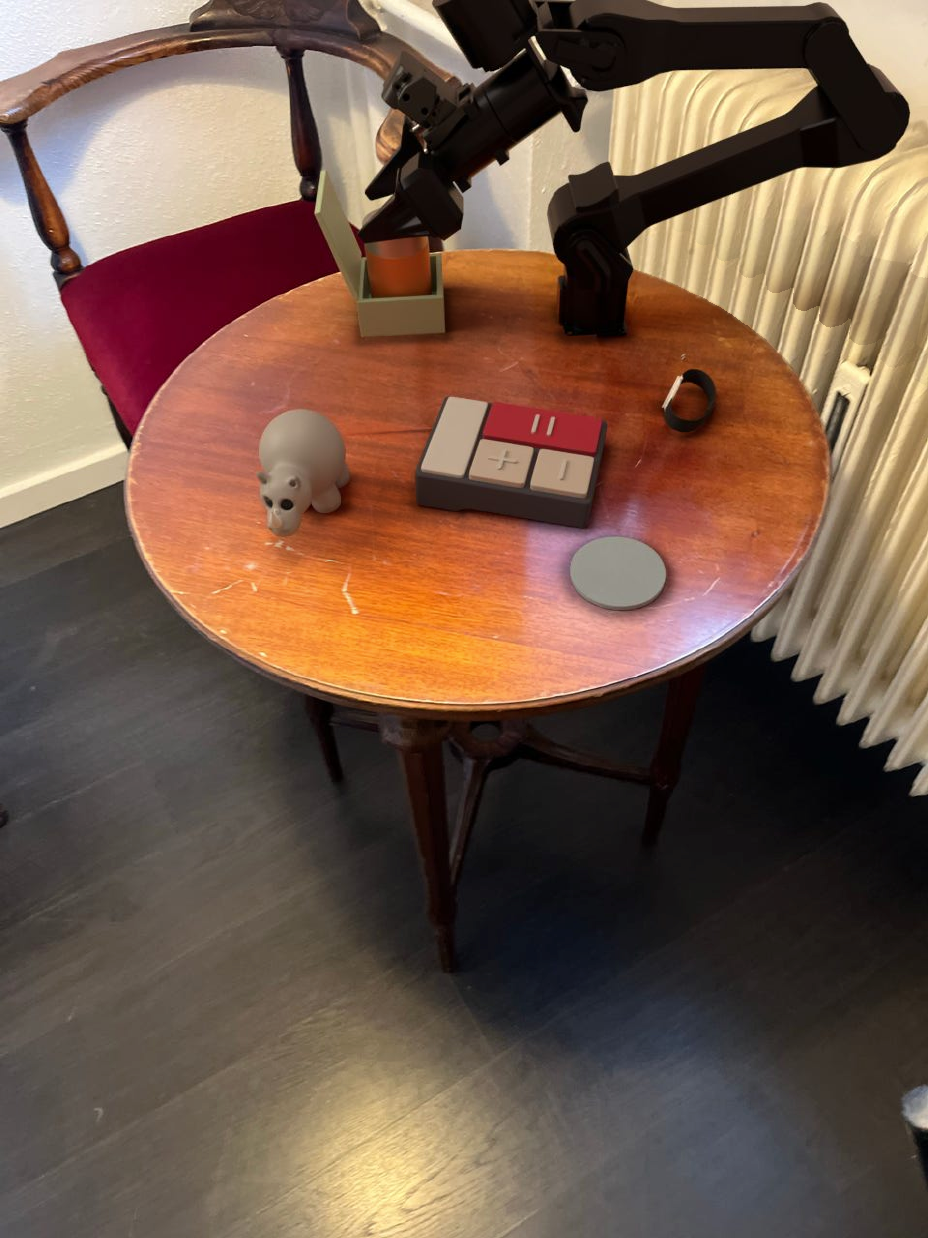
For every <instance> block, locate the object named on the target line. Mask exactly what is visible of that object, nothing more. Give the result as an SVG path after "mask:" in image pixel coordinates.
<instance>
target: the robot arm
mask: <svg viewBox="0 0 928 1238" xmlns="http://www.w3.org/2000/svg"><path fill="white" fill-rule="evenodd" d="M431 6H432V7H433V8H434V10H435V13H437V15H438V16H439V18H440V20H441V21H442V23H443V25H444V26H445V28H446V29H447V31H448V33H449V34H450V36H451V38H452V39H453V40H454V42H455V44H456V45H457V47H458V49H459V50H460V52H461V53H462V55H463V56H464V58H465V59H466V61H467V63H468V65H469V66H470V67H471V68H472V69H473V70H478V69H482V70H483V72H484V73H485V74H486V73H488V72H489V73H493V72H494V73H493V74H492V75H490V76H489V77H488V78H487V79H485V80H484V81H482V82H481V83H480V84H479V85H477V86H476V85H475V84H474V82H471V83H470V84H469V82H466V83H463V84H462V85H461V86H460V87H458V88H457V89H454V88H453V87H452V86H451V85H449V83H447V82H446V81H445V80H444V78H442V77H441V76H440V75H438V74H437V73H436V72H435V71H434V70H432V69H431V68H429V67H428V66H427V65H426V64H424V63H423V62H422V61H420V60H419V59H418V58H416V57H415V56H414V55H413V54H411V53H410V52H408V51H406V50H401V51H400V53H399V54H398V57H397V58H396V60H395V62H394V64H393V65H392V67H391V69H390V71H389V73H388V74H387V76H386V78H385V80H384V81H383V83H382V88H383V89H382V91H381V94H380V95H381V96H380V97H381V100H382V101H383V102H384V103H385V104H386V105H387V106H388V107H390V108H391V109H392V110H394V111H396V110H398V111H399V112H400V113H402V114H403V115H404V116H403V121H402V130H401V140H400V143H399V145H398V146H397V147H396V149H395V150H394V151H393V153H392V154H391V156H390V157H389V158H388V160H387V161H386V162H385V163H384V165H383V166H382V167H381V169H380V170H379V171H378V173H376V174H375V176H374V177H373V179H372V180H371V181H370V183H369V184H368V185H367V186H366V188H365V189H364V195H365V196H366V198H367V199H368V200H369V201H371V202H373V201H376V200H380V199H383V198H386V197H389V198H388V199H387V200H386V201H385V202H384V203H383V204H382V205H381V207H379V208H380V209H379V208H378V209H379V210H378V211H377V212H376V213H375V214H374V215H373V216H372V217H371V218H370V219H369V220H368V221H367V222H366V223H365V225H364V226H362V227H361V228H360V229H359V230H358V231H357V234H356V235H357V238H358V239H359V241H361V242H362V244H367V243H374V242H381V241H388V240H395V239H403V238H413V237H426V236H428V237H431V238H432V239H434V240H435V239H438V238H439V239H440V240H441V241H443V242H445V241H446V240H448V239H449V238H451V237H452V236H453V235H455V234H456V233H458V232H459V231H461V230H462V225H463V220H464V215H465V213H464V211H465V209H464V205H465V204H464V203H465V200H464V196H463V195H462V194H464V193H466V192H467V191H468V190H470V189H471V188H473V187H472V186H473V185H472V181H473V180H472V178H474V177H475V176H476V175H478V174H479V173H481V172H482V171H484V170H485V169H486V168H488V167H489V166H490V165H492V164H493V163H495V162H497V164H498V165H499V167H502V166H503V165H504V164H506V163H507V162H508V161H510V159H511V158H510V151H511V150H512V149H514V148H515V147H517V146H518V145H519V144H520V143H522V142H524V141H525V140H526V139H528V138H529V137H531V136H532V135H533V134H534V133H536V132H537V131H538V130H540V129H541V128H543V127H544V126H546V125H547V124H548V123H549V122H551V121H553V120H554V119H555V118H556V117H558V116H559V115H560V114H562V115H563V118H564V119H565V120H566V122H567V124H568V126H569V128H570V130H571V131H572V132H573V133H575V134H576V133H579V132H580V131H581V128H582V121H583V115H584V111H585V109H586V106H587V105H588V103H589V98H588V94H587V91H591V92H597V93H601V92H606V91H607V92H608V91H612V90H616V89H621V88H627V87H631V86H635V85H640V84H641V83H642V84H643V83H644V82H646V81H648V80H651V79H652V78H654V77H656V76H659V75H663V74H666V73H671V72H675V71H677V72H679V71H683V72H684V71H728V70H729V71H730V70H731V71H733V70H735V71H736V70H783V69H785V70H786V69H787V70H788V69H789V70H790V69H805V70H807V71H808V72H809V74H810V76H811V77H812V80H813V81H814V82H815V84H816V86H814V87H812V89H810V91H808V92H807V93H806V94H805V96H803V98H801V99H800V100H799V101H798V102H797V103H796V104H795V105H794V106H793V107H792V108H791V109H790V110H789V111H787V112H786V113H784V114H782V115H780V116H778V117H775V118H773V119H770V120H768V121H765V122H763V123H760V124H758V125H755V126H753V127H750V128H748V129H746V130H743V131H740V132H737V133H735V134H733V135H731V136H728V137H726V138H723V139H721V140H719V141H716V142H713V143H711V144H709V145H706V146H704V147H701V148H699V149H696V150H694V151H692V152H689V153H686V154H683V155H681V156H679V157H677V158H674V159H672V160H669V161H667V162H664V163H661V164H659V165H657V166H655V167H652V168H650V169H647V170H645V171H641V172H639V173H637V174H633V175H632V174H631V175H623V174H621V175H620V174H614V171H613V168H612V166H611V162H610V161H605V162H601V163H599V164H598V165H596V166H594V167H592V168H591V169H589V170H587V171H585V172H582V173H579V174H578V173H577V174H568V175H567V180H568V182H566V183H565V184H563V185H562V186H560V187H557V189H556V190H555V191H554V192H553V195H552V197H551V199H550V201H549V203H548V205H547V211H546V216H547V223H548V227H549V233H550V237H551V242H552V243H551V244H552V248H553V253H554V255H555V257H556V258H557V260H558V261H559V262H560V263H561V264H563V271H562V275H558V276H557V280H556V281H557V283H556V287H557V288H556V304H555V305H556V306H555V313H556V318H557V323H558V324H559V325H560V326H562V328H563V333H564V335H565V336H566V337H578V336H596V338H598V339H599V338H615V337H626V336H627V334H628V328H627V324H626V321H625V317H626V308H627V298H628V291H629V290H628V289H629V283H630V282H629V281H630V279H631V276H632V274H633V273H634V270H635V269H634V266H633V262H632V259H631V256H630V252H629V249H628V247H629V246H630V245H631V244H632V243H633V242H635V241H636V240H637V238H639V236H641V235H642V233H643V232H644V231H646V230H647V229H648V228H650V227H652V226H654V225H657V224H660V223H662V222H665V221H667V220H669V219H672V218H674V217H677V216H680V215H682V214H685V213H687V212H690V211H693V210H695V209H698V208H701V207H703V206H706V205H708V204H710V203H713V202H716V201H719V200H721V199H724V198H727V197H729V196H731V195H734V194H737V193H740V192H742V191H744V190H747V189H749V188H752V187H754V186H757V185H760V184H763V183H765V182H768V181H771V180H773V179H776V178H778V177H780V176H783V175H785V174H788V173H791V172H793V171H797V170H799V169H805V168H807V169H809V168H810V169H842V168H847V167H851V166H856V165H861V164H866V163H870V162H873V161H877V160H879V159H881V158H883V157H885V156H887V155H889V154H890V153H891V152H892V151H894V150H895V149H896V147H897V145H898V143H899V142H900V140H901V139H902V138H903V136H904V135H905V133H906V131H907V128H908V126H909V124H910V117H911V110H910V104H909V101H907V100H906V98H905V96H904V94H902V93H901V92H900V91H899V89H898V88H897V87H896V86H895V85H894V83H893V82H892V81H891V80H890V79H889V78H888V77H887V75H886V74H885V73H884V72H883V71H882V70H881V69H880V68H878V67H876V66H875V65H872V64H870V63H868V62H867V61H866V59H865V58H864V56H863V55H862V53H861V51H860V50H859V48H858V47H857V45H856V44H855V42H854V40H853V38H852V36H851V35H850V29H849V27H848V24H847V22H846V21H845V20H844V19H843V18H842V17H841V16H840V14H839V13H838V12H837V11H836V10H835V9H834V8H833V7H832V6H831V5H830V4H828V3H826V2H821V1H816V2H812V3H809V4H806V5H772V6H771V5H770V6H767V5H766V6H764V5H762V6H761V5H760V6H709V7H706V6H705V7H701V6H700V7H672V6H667V5H662V4H659V3H657V2H654V1H652V0H651V1H650V0H432V1H431ZM532 37H534V38H535V41H536V43H537V45H538V46H539V48H540V50H541V51H542V54H543V55H544V57H545V59H544V57H543V56H542V54H541V52H540V51H539V50H538V48H537V46H536V44H535V43H534V41H533V39H532ZM563 68H565V69H567V70H569V72H570V74H571V77H572V78H573V80H574V81H576V82H577V84H578V85H580V88H579V87H576V86H573V85H572V84H571V82H570V80H569V78H568V76H567V74H566V73H565V71H564V69H563ZM586 90H587V91H586ZM569 333H570V334H569Z"/></svg>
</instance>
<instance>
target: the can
mask: <svg viewBox="0 0 928 1238" xmlns="http://www.w3.org/2000/svg"><path fill="white" fill-rule="evenodd" d="M380 208H381V207H378V208H376V209H374V210H372V211H370V212H369V213H367V214H366V215H364V217H363V219H362V222H361V226H362V227H363V226H364V225H365V223H366V222H367V221H368V220H369V219H370V218H371V217H372V216H373V215H374V214H375V213H376V212H377V211H378V210H379V209H380ZM363 244H364V243H363ZM364 253H365V257H366V261H367V269H368V276H369V284H370V292H371V297H372V298H388V297H406V296H425V295H432V281H431V267H430V254H431V253H430V241H429V236H426V237H413V238H403V239H395V240H388V241H381V242H374V243H367V244H364Z"/></svg>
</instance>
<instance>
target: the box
mask: <svg viewBox="0 0 928 1238" xmlns="http://www.w3.org/2000/svg"><path fill="white" fill-rule="evenodd" d="M442 259H443V258H442V253H441V252H440V253H439V252H438V253H437V252H436V253H430V267H431V281H432V295H425V296H406V297H388V298H372V297H371V292H370V284H369V276H368V269H367V261H366V256H365V257H361V267H360V281H359V294H358V298H356V299H355V300H356V308H357V309H356V311H357V314H358V315H357V317H358V323H359V324H358V325H359V331H360V336H361V338H373V337H388V336H390V337H391V336H392V337H393V336H409V335H411V336H412V335H427V334H445V333H446V321H445V319H446V318H445V317H446V316H445V296H444V294H445V292H444V276H443V275H444V274H443V260H442Z"/></svg>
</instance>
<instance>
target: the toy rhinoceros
mask: <svg viewBox="0 0 928 1238" xmlns="http://www.w3.org/2000/svg"><path fill="white" fill-rule="evenodd" d="M258 445H259V446H258V459H259V464H260V466H261V469H262V471H257V472H256V473H255V474H256V478H257V479H258V481H259V483H260V486H259V498H260V501H261V503H262V504H263V506H264V508H265V509H266V525H267V529H268V530H269V531H270V532H271V533H272V534H273V535H275V536H277V537H279V538H288V537H291V536H293V535H295V534H297V532H298V531H299V530H300V528H301V525H302V518H303V515H304V513H305V512H306V511H307V510H308V508H309V507H310V506H311V505H312V507H313V508H314V510H315V511H316V512H318V513H321V514H330V513H332V512H335V511H336V510H337V509H338V508H339V507H340V506H341V505H342V504H341V503H342V496H341V493H340V490H339V489H341V488H343V487H345V486H346V485H347V484H348V483H349V482H350V479H351V471H350V467H349V466H348V464H347V463H346V458H347V457H346V456H347V454H346V444H345V441H344V438H343V436H342V433H341V431H340V430H339V429H338V427H337V425H335V424H334V422H332V420H330V419H329V418H328V417H327V416H325V415H324V414H322V413H320V412H317V411H314V410H312V409H311V410H310V409H305V408H303V409H302V408H298V409H291V410H287V411H285V412H283V413H280V414H278V415H277V416H276V417H274V418H273V419H272V420H271V421H270V422H269V423H268V424H267V425H266V427H265V428H264V430H263V432H262V434H261V437H260V440H259V443H258Z"/></svg>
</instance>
